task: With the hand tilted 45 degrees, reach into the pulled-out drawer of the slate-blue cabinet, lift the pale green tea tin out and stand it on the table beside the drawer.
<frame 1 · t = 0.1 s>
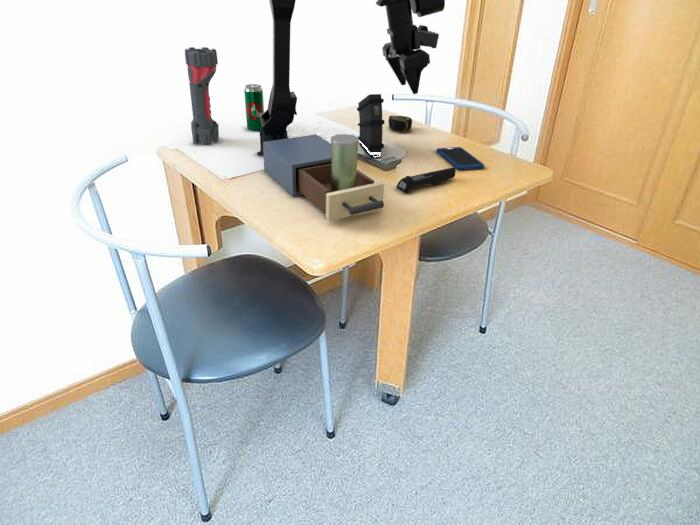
hand: (409, 89, 123), 15 cm above the table, tool pointing down, fingers open, 9 cm apart
cabinet: (305, 178, 111), on the table
flashlight: (210, 141, 130), on the table
cell phone: (459, 160, 125), on the table
tape measure: (398, 130, 145), on the table
electric trimmer: (425, 185, 111), on the table
soda can: (256, 129, 140), on the table
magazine: (368, 150, 129), on the table
tea tin: (342, 199, 98), point 2 cm above the table, touching drawer
drawer: (343, 192, 97), point 4 cm above the table, slide at 13.3 cm, touching tea tin
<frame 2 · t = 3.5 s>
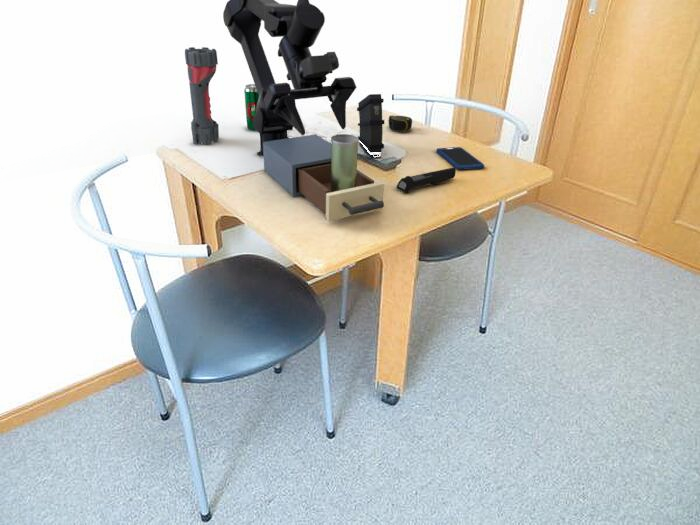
hand: (324, 131, 98), 14 cm above the table, tool tilted 45°, fingers open, 9 cm apart
nothing on the table moved.
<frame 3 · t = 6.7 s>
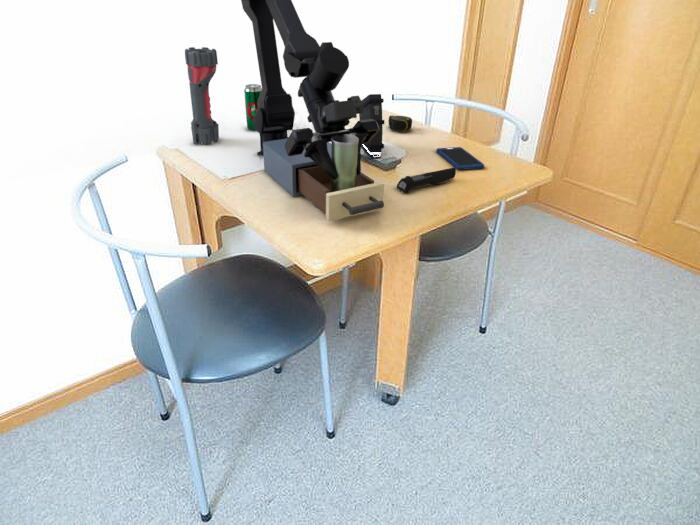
hand: (347, 176, 94), 7 cm above the table, tool tilted 45°, fingers closed on tea tin, 5 cm apart
tea tin: (343, 199, 98), point 2 cm above the table, touching drawer, gripper
everything else where it was.
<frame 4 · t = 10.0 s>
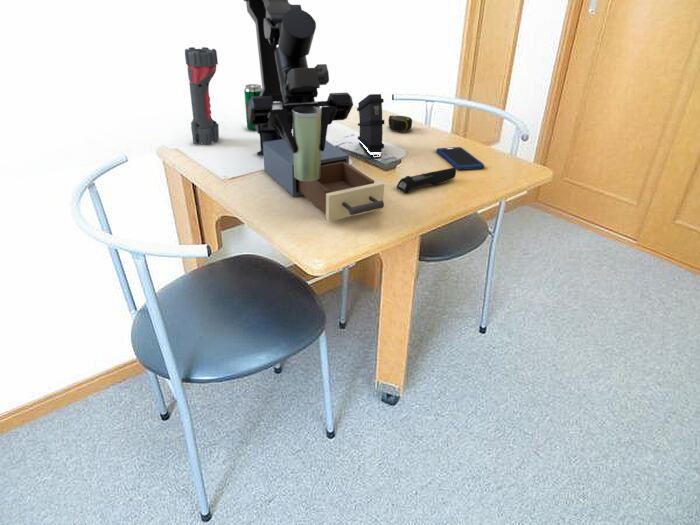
hand: (308, 151, 88), 13 cm above the table, tool tilted 45°, fingers closed on tea tin, 5 cm apart
tea tin: (307, 176, 92), point 8 cm above the table, touching gripper
drawer: (343, 192, 97), point 4 cm above the table, slide at 13.3 cm
everything else where it was.
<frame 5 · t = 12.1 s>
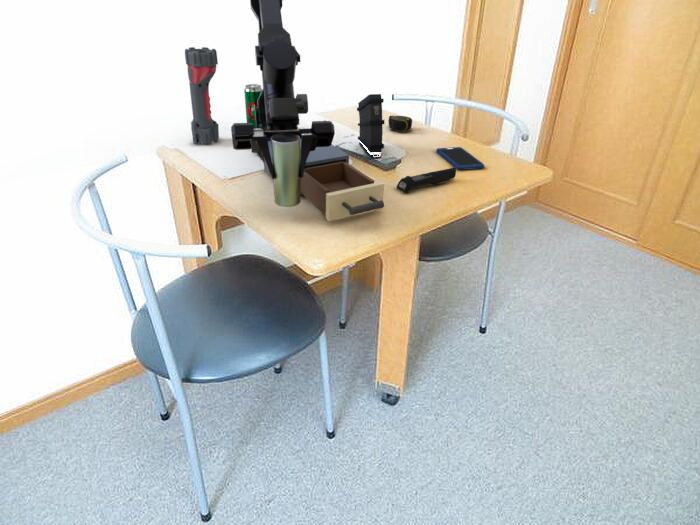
hand: (287, 178, 89), 9 cm above the table, tool tilted 45°, fingers closed on tea tin, 5 cm apart
tea tin: (287, 201, 93), point 3 cm above the table, touching gripper
everything else where it was.
when the fingers open (5 cm above the table, at t = 13.6 s): tea tin stays where it is, on the table.
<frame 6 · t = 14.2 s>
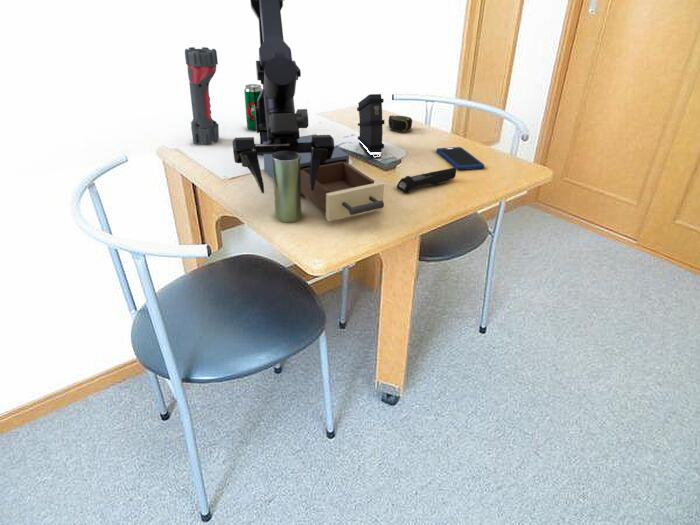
hand: (287, 191, 91), 6 cm above the table, tool tilted 45°, fingers open, 9 cm apart
tea tin: (288, 216, 95), on the table
everything else where it was.
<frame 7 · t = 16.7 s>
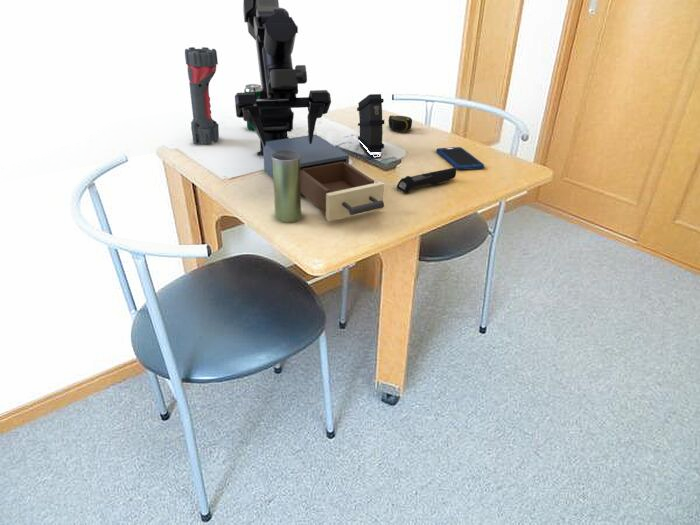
hand: (288, 144, 97), 11 cm above the table, tool tilted 40°, fingers open, 9 cm apart
nothing on the table moved.
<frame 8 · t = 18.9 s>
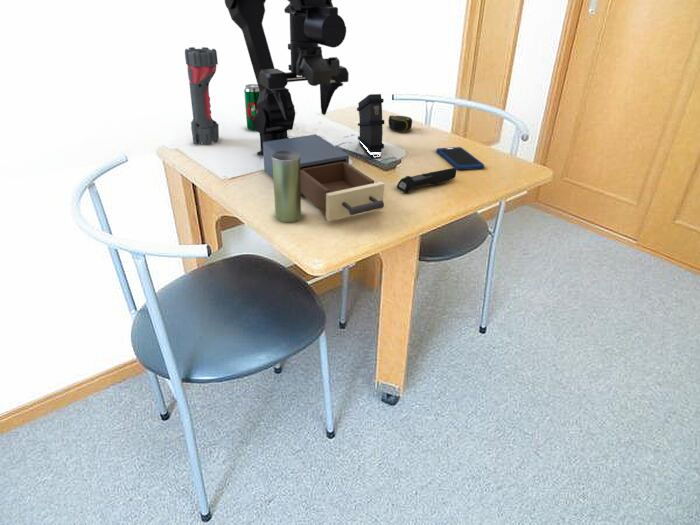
hand: (305, 116, 107), 13 cm above the table, tool pointing down, fingers open, 9 cm apart
nothing on the table moved.
at the end: tea tin inside the target area (0.1 cm from its centre), on the table; tea tin tilted 0°; the gripper is holding nothing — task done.
